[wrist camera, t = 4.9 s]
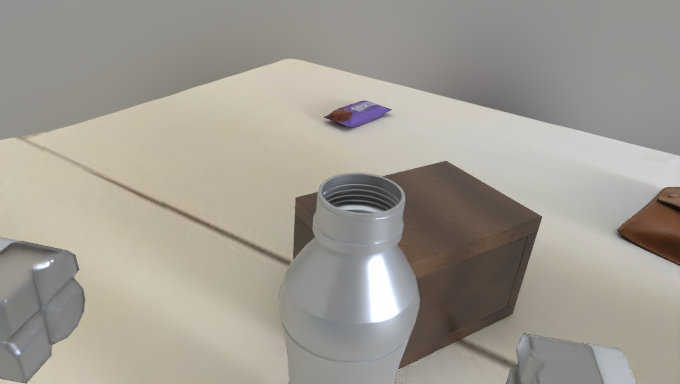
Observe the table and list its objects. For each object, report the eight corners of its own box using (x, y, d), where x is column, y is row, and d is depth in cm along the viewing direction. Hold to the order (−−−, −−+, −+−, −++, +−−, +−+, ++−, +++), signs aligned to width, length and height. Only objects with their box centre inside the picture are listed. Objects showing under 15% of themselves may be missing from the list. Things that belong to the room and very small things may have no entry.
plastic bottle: (409, 491, 31) (475, 201, 22) (321, 571, 27) (354, 258, 18) (338, 418, 36) (367, 146, 26) (252, 478, 31) (249, 182, 22)
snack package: (369, 96, 89) (393, 104, 86) (367, 106, 90) (391, 115, 87) (323, 111, 81) (348, 120, 78) (322, 122, 82) (347, 132, 79)
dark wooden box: (429, 248, 54) (446, 160, 49) (513, 313, 46) (542, 216, 41) (291, 297, 46) (295, 197, 41) (364, 386, 38) (379, 275, 33)
